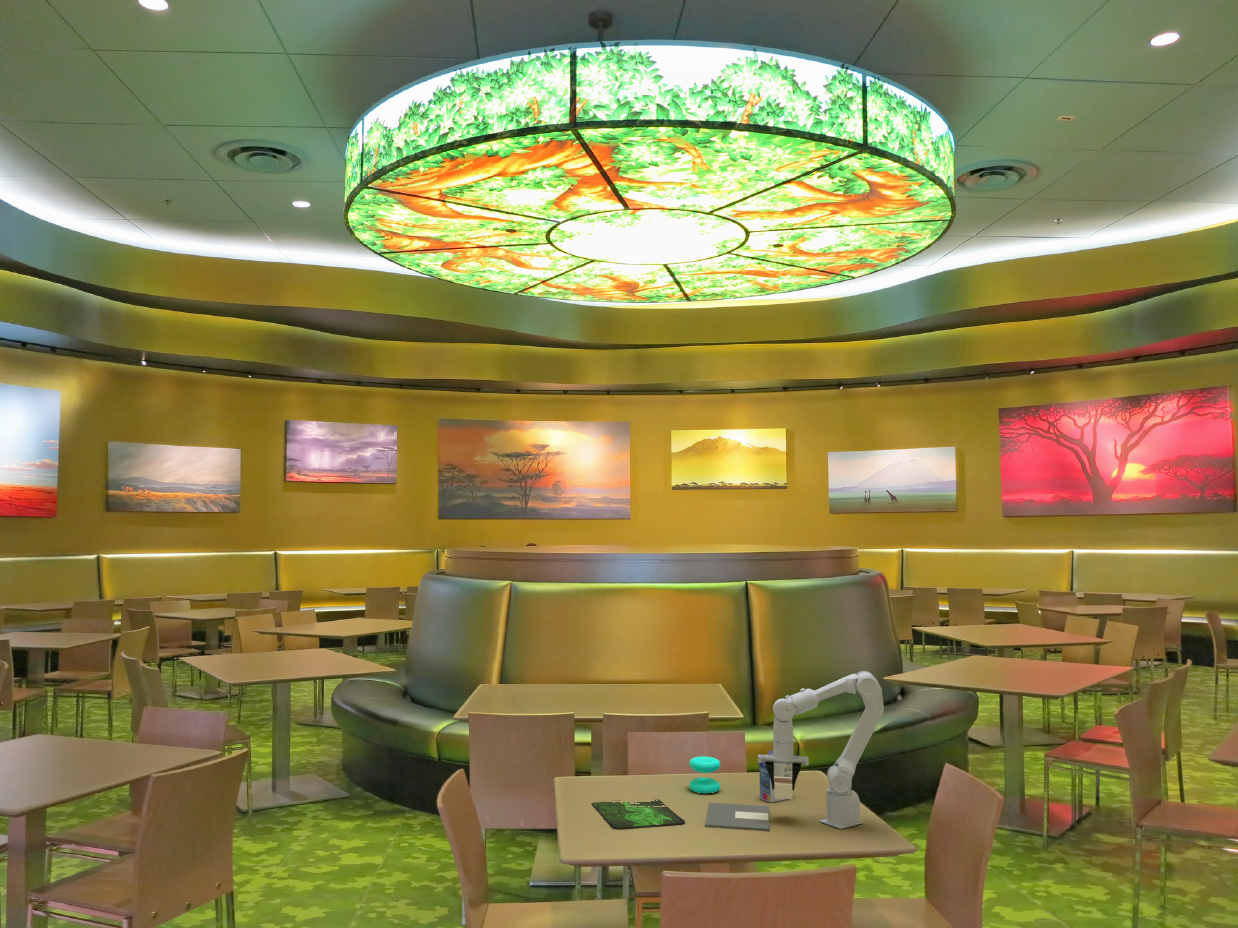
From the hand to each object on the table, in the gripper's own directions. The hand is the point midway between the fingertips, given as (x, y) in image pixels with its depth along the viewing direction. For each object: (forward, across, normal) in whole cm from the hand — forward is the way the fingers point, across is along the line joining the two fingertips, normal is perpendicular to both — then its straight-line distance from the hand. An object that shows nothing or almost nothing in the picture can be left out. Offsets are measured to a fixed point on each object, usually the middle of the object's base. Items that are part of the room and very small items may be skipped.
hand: (783, 788), depth 266 cm
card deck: (+2, 0, 0) cm, 2 cm away
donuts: (+9, +24, -26) cm, 37 cm away
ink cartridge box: (+9, +2, -22) cm, 24 cm away
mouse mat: (+9, +43, +2) cm, 44 cm away
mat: (+9, +13, 0) cm, 16 cm away
